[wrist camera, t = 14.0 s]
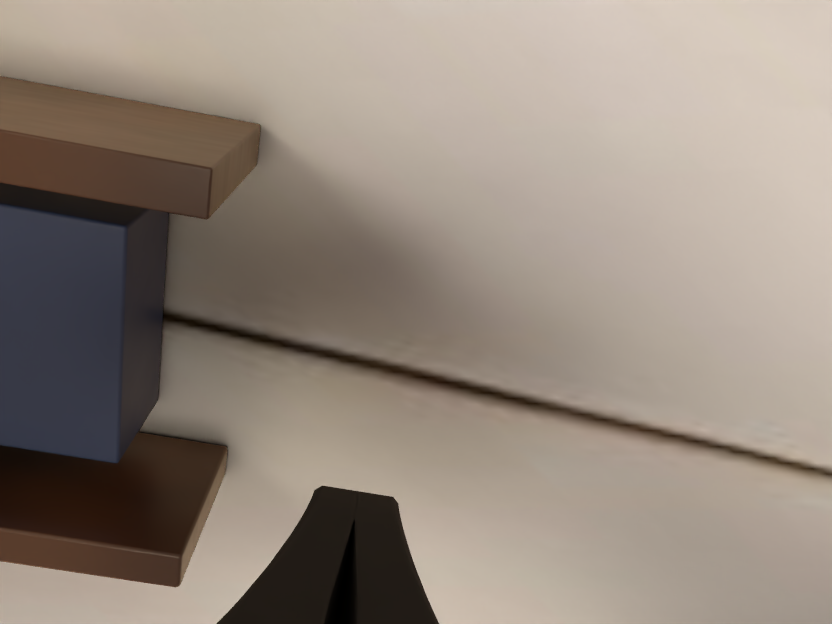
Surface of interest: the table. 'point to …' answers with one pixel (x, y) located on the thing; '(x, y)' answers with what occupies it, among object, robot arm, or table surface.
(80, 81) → the table surface
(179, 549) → the shelf
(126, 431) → the navy blue rectangular block
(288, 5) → the table surface
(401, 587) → the robot arm
